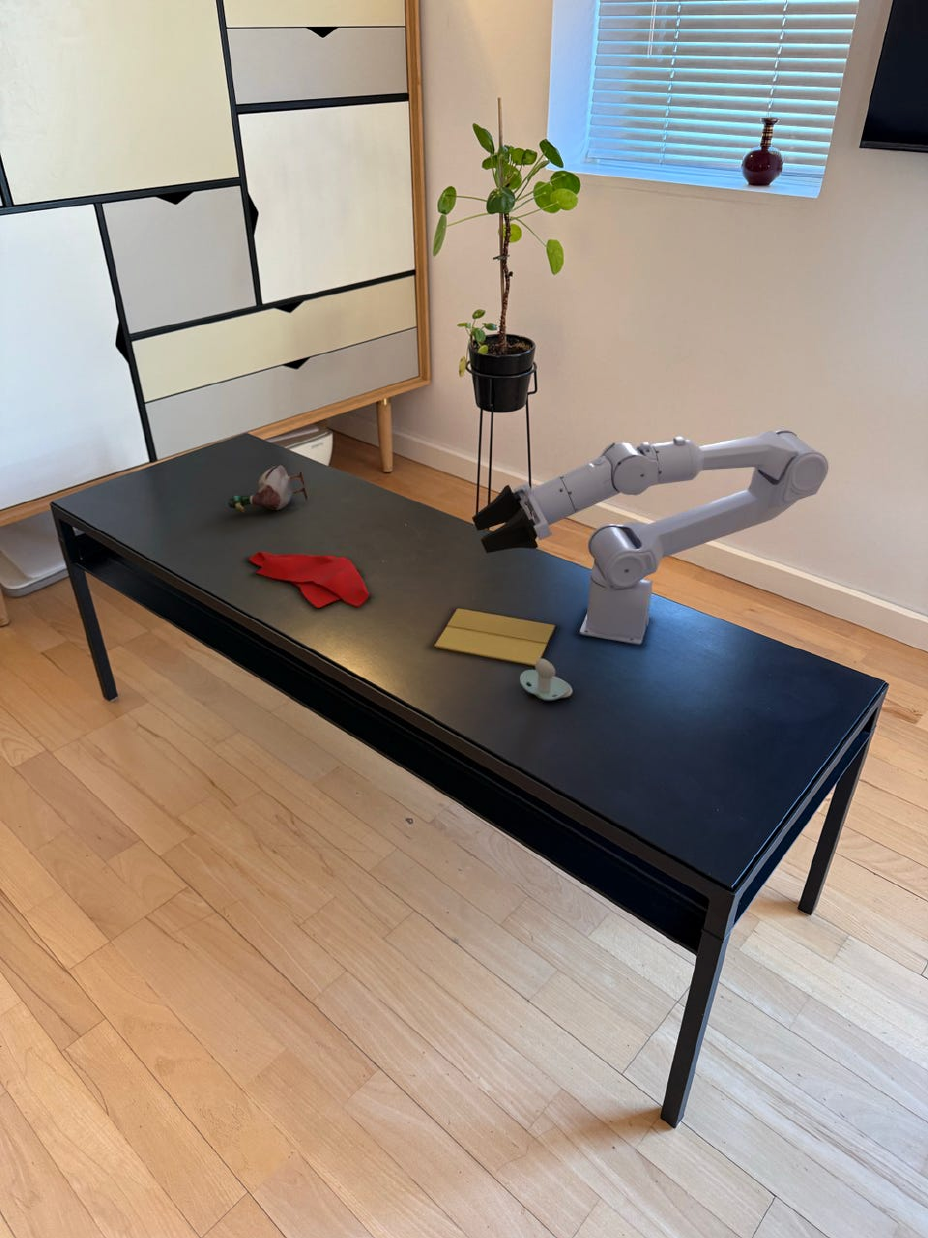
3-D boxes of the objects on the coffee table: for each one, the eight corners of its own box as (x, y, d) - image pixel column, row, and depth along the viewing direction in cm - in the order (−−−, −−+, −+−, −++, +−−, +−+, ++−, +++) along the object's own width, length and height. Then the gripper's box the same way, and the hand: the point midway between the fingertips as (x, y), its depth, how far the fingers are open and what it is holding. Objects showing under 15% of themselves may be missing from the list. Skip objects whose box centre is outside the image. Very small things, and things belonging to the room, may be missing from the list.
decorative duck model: (225, 495, 165) (218, 462, 177) (235, 530, 169) (227, 496, 181) (304, 478, 168) (292, 447, 180) (312, 513, 172) (300, 480, 184)
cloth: (396, 588, 148) (395, 576, 147) (330, 619, 140) (329, 607, 139) (304, 538, 164) (303, 527, 163) (240, 563, 156) (238, 552, 155)
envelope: (554, 627, 138) (555, 624, 138) (537, 666, 129) (537, 663, 129) (458, 610, 143) (457, 607, 142) (434, 647, 134) (434, 644, 133)
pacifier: (538, 673, 128) (514, 692, 124) (541, 636, 125) (516, 654, 121) (581, 692, 124) (558, 712, 120) (585, 655, 121) (561, 674, 117)
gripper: (545, 453, 129) (460, 492, 130) (570, 490, 117) (476, 532, 118) (561, 494, 133) (478, 531, 134) (587, 533, 120) (496, 575, 121)
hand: (478, 535), depth 126 cm, fingers open, 7 cm apart
